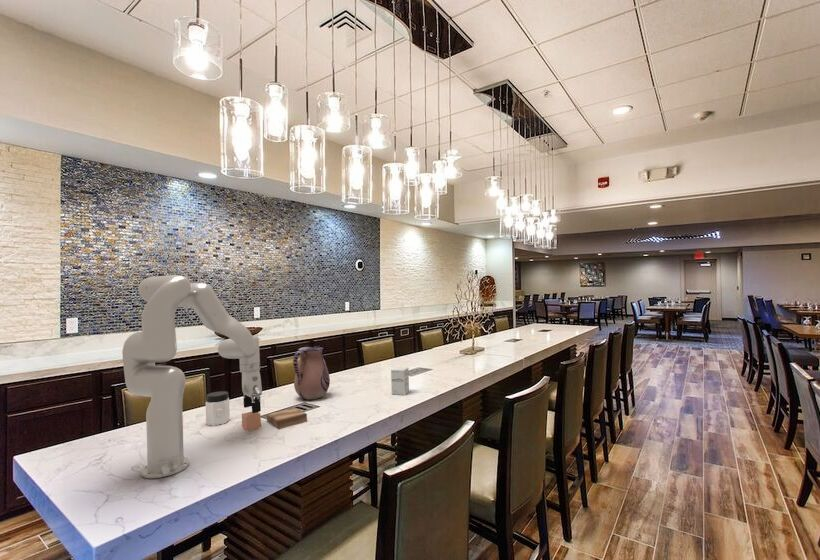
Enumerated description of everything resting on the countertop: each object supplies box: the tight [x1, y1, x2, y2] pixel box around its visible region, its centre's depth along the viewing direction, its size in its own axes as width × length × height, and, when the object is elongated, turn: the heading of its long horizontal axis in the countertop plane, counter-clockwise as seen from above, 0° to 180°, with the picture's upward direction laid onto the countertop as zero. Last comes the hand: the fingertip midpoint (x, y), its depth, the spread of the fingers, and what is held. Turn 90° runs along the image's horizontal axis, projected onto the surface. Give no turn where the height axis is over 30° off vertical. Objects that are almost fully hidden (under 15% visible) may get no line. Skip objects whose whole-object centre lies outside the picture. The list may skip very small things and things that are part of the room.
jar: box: [205, 390, 231, 427], centre depth 163 cm, size 9×8×12 cm
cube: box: [241, 411, 262, 431], centre depth 155 cm, size 6×6×6 cm
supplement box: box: [390, 366, 410, 396], centre depth 197 cm, size 7×7×13 cm
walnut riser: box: [266, 407, 308, 429], centre depth 160 cm, size 12×12×3 cm
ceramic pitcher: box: [292, 346, 331, 401], centre depth 194 cm, size 18×21×25 cm
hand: (252, 409), depth 156 cm, fingers open, 9 cm apart
